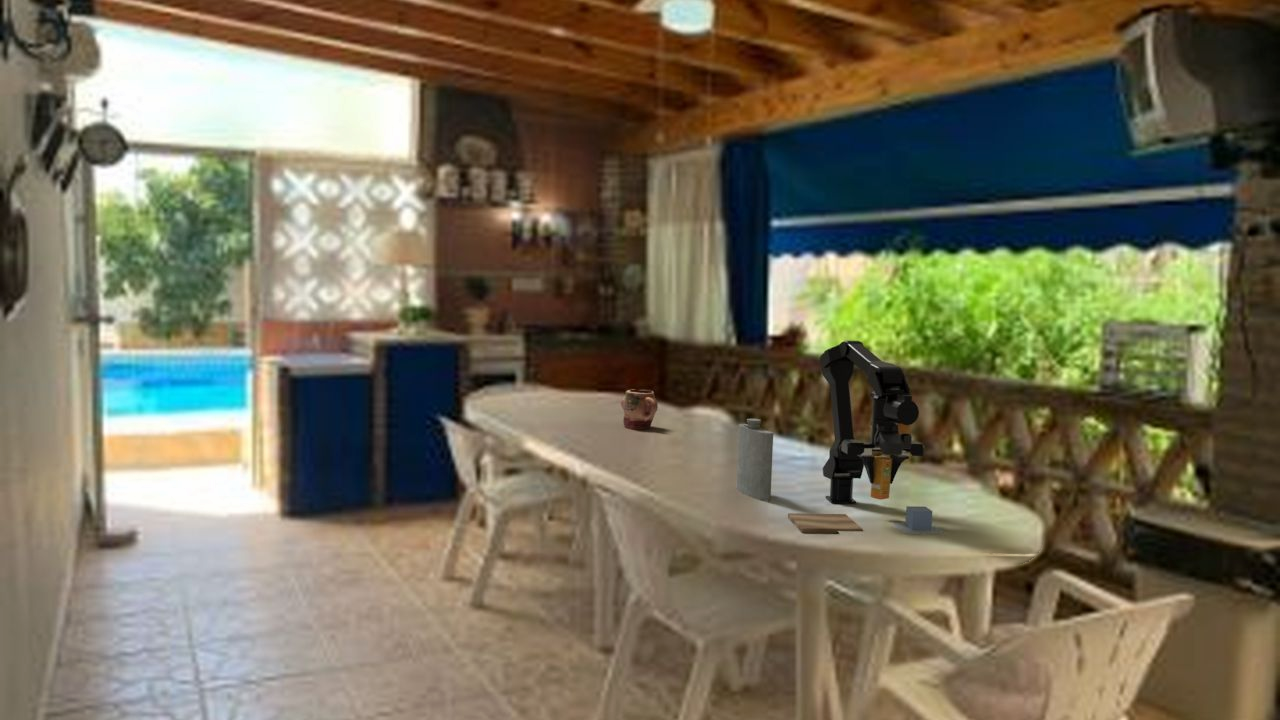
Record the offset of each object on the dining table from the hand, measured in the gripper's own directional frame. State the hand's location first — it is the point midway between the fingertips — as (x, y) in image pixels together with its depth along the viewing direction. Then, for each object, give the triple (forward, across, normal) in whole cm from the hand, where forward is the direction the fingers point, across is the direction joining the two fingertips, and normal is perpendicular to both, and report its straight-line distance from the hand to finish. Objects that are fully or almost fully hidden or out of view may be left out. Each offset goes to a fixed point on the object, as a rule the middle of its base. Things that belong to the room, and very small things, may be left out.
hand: (880, 483), depth 241 cm
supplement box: (+4, 0, 0) cm, 4 cm away
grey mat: (+9, +6, -10) cm, 15 cm away
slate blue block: (+8, +6, -10) cm, 14 cm away
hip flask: (+9, -26, +26) cm, 38 cm away
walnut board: (+9, -15, -6) cm, 18 cm away
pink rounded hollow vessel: (+9, -47, +134) cm, 142 cm away
